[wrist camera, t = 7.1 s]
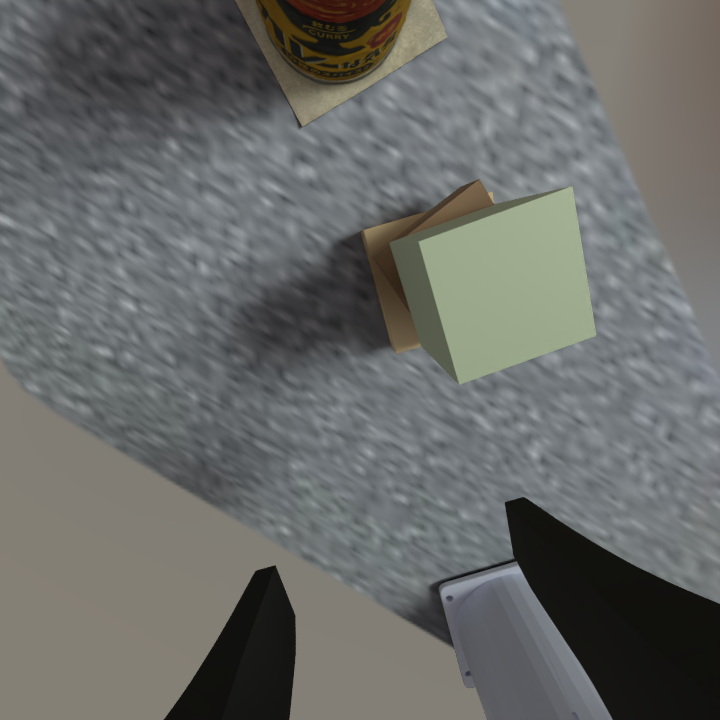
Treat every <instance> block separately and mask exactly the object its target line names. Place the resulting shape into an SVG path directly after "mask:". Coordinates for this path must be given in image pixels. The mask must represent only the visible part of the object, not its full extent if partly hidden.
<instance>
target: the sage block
mask: <svg viewBox="0 0 720 720" xmlns="http://www.w3.org/2000/svg"><path fill="white" fill-rule="evenodd" d="M389 244H390V247H391V250H392V254H393V257H394V260H395V263H396V267H397V270H398V273H399V276H400V280H401V283H402V286H403V290H404V293H405V296H406V299H407V303H408V306H409V309H410V312H411V316H412V319H413V322H414V325H415V329H416V332H417V335H418V338H419V342H420V345H421V346H422V347H423V348H424V349H425V350H426V351H427V352H428V353H429V354H430V355H431V356H432V357H433V358H434V359H435V360H436V361H437V363H438V364H439V365H440V366H441V367H442V368H443V369H444V370H445V371H446V372H447V373H448V374H449V375H450V376H451V377H452V378H453V379H454V380H455V381H456V382H457V383H458V384H459V385H460V384H463V383H465V382H468V381H471V380H474V379H477V378H479V377H482V376H485V375H488V374H491V373H493V372H496V371H499V370H502V369H505V368H507V367H510V366H513V365H516V364H519V363H521V362H524V361H527V360H530V359H532V358H535V357H538V356H541V355H544V354H546V353H549V352H552V351H555V350H558V349H560V348H563V347H566V346H569V345H572V344H574V343H577V342H580V341H583V340H586V339H588V338H591V337H594V336H596V331H595V325H594V319H593V312H592V306H591V300H590V294H589V288H588V281H587V275H586V269H585V263H584V256H583V250H582V244H581V238H580V232H579V225H578V219H577V213H576V207H575V200H574V194H573V188H572V186H571V187H567V188H562V189H558V190H554V191H549V192H545V193H541V194H537V195H532V196H528V197H524V198H519V199H515V200H511V201H507V202H502V203H498V204H494V205H492V206H489V207H486V208H483V209H481V210H478V211H475V212H472V213H470V214H467V215H464V216H461V217H458V218H456V219H453V220H450V221H447V222H445V223H442V224H439V225H436V226H434V227H431V228H428V229H425V230H422V231H420V232H417V233H414V234H411V235H409V236H406V237H403V238H400V239H398V240H395V241H392V242H389Z"/></svg>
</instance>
